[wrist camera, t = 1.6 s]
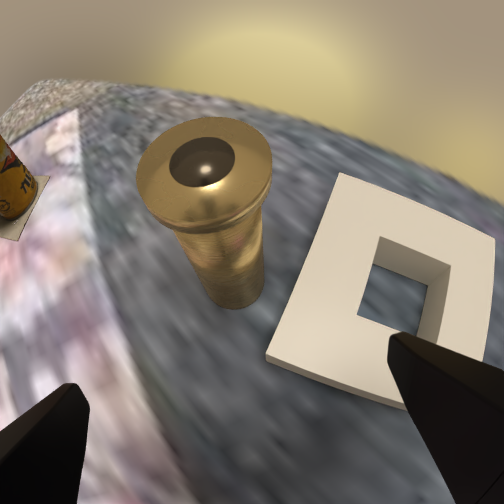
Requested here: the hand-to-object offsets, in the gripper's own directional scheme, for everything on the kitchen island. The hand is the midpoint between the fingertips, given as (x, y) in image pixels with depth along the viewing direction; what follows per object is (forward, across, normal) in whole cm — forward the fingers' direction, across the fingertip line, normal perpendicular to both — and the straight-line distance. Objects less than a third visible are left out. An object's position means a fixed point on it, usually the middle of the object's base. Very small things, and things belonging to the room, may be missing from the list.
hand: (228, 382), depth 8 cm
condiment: (+25, +24, -5) cm, 35 cm away
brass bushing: (+15, 0, +4) cm, 16 cm away
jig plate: (+12, -11, +7) cm, 18 cm away
